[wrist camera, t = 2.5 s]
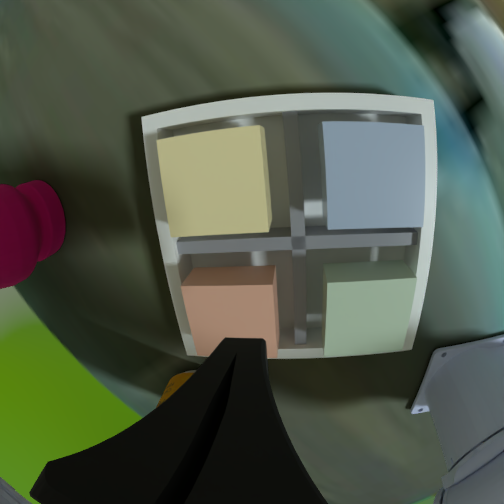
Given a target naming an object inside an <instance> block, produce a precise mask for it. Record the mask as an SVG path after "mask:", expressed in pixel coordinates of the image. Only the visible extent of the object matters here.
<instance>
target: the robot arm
mask: <svg viewBox="0 0 504 504" xmlns="http://www.w3.org/2000/svg"><path fill="white" fill-rule="evenodd" d="M426 411H430V414H431V417H432V419H433V422H434V425H435V428H436V431H437V435H438V438H439V441H440V444H441V448H442V451H443V454H444V458H445V461H446V465H447V469H448V473H447V474H446V475H444V476H443V477H442V478H441V480H442V484H443V487H442V488H441V489H439V491H438V492H437V494H436V496H435V500H434V503H433V504H504V334H503V335H499V336H495V337H491V338H487V339H483V340H478V341H474V342H469V343H464V344H460V345H454V346H449V347H444V348H438V349H436V350H435V351H434V352H433V354H432V357H431V359H430V362H429V365H428V368H427V371H426V373H425V376H424V379H423V381H422V384H421V386H420V389H419V391H418V393H417V396H416V398H415V400H414V403H413V405H412V407H411V413H412V414H416V413H421V412H426ZM30 496H31V497H32V498H34V499H35V500H36V501H38V502H39V503H41V504H328V503H327V502H326V500H325V499H324V497H323V496H322V494H321V493H320V491H319V490H318V488H317V487H316V485H315V484H314V482H313V481H312V479H311V478H310V476H309V474H308V472H307V471H306V469H305V467H304V465H303V464H302V462H301V460H300V458H299V456H298V455H297V453H296V451H295V449H294V447H293V445H292V443H291V440H290V438H289V436H288V434H287V432H286V429H285V427H284V425H283V422H282V420H281V417H280V414H279V412H278V409H277V406H276V403H275V400H274V397H273V393H272V390H271V386H270V382H269V375H268V361H267V346H266V341H265V340H264V339H263V338H228V337H225V338H224V339H223V340H222V341H221V342H220V343H219V345H218V346H217V347H216V348H215V350H214V351H213V352H212V353H211V354H210V356H209V357H208V358H207V359H206V360H205V361H204V362H203V364H202V365H201V366H200V367H199V368H198V369H197V370H196V371H195V372H194V373H193V374H192V375H191V377H190V378H189V379H188V380H187V381H186V382H185V383H184V384H183V385H182V386H181V387H179V388H178V389H177V390H176V391H175V392H174V393H173V394H172V395H171V396H170V397H169V398H168V399H167V400H165V401H164V402H163V403H162V404H161V405H159V406H158V407H157V408H156V409H154V410H153V411H152V412H150V413H149V414H148V415H146V416H145V417H144V418H142V419H141V420H139V421H138V422H136V423H135V424H133V425H132V426H130V427H129V428H127V429H125V430H124V431H122V432H120V433H119V434H117V435H115V436H113V437H111V438H109V439H107V440H105V441H103V442H101V443H99V444H97V445H95V446H93V447H90V448H88V449H86V450H83V451H81V452H78V453H75V454H72V455H69V456H66V457H63V458H59V459H56V460H53V461H49V462H48V463H47V464H46V466H45V467H44V469H43V471H42V472H41V474H40V476H39V477H38V479H37V481H36V482H35V484H34V486H33V488H32V489H31V491H30ZM0 504H32V503H30V502H29V501H28V500H26V499H25V498H24V497H23V496H21V495H20V494H19V493H17V492H16V491H15V489H14V488H13V487H12V486H10V485H9V484H8V483H7V482H6V481H4V480H3V479H2V478H1V477H0Z"/></svg>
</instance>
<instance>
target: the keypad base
mask: <svg viewBox="0 0 504 504" xmlns="http://www.w3.org/2000/svg"><path fill="white" fill-rule="evenodd" d="M141 118H142V129H143V138H144V147H145V155H146V163H147V170H148V178H149V184H150V191H151V197H152V203H153V209H154V215H155V221H156V226H157V232H158V237H159V242H160V247H161V252H162V257H163V262H164V266H165V271H166V275H167V280H168V284H169V288H170V293H171V297H172V301H173V305H174V309H175V313H176V317H177V321H178V324H179V328H180V332H181V335H182V339H183V343H184V346H185V350H186V353H187V355H189V356H197V352H196V348H195V345H194V341H193V337H192V333H191V329H190V325H189V321H188V317H187V312H186V308H185V304H184V300H183V295H182V291H181V285H182V283H183V282H184V280H185V279H186V278H187V276H188V275H189V274H190V272H191V271H192V270H193V268H197V267H235V266H267V265H276V281H277V297H278V314H279V332H280V335H279V346H278V356H277V358H267V359H299V358H326V357H324V354H323V344H322V334H321V330H322V302H323V263H346V262H368V261H390V260H403V261H404V262H405V263H406V264H407V266H408V267H409V268H410V269H411V271H412V272H413V273H414V274H415V276H416V277H417V282H416V288H415V294H414V299H413V305H412V310H411V315H410V319H409V324H408V328H407V333H406V337H405V341H404V345H403V349H402V350H401V351H405V350H412V347H413V343H414V339H415V336H416V332H417V328H418V324H419V319H420V315H421V311H422V306H423V301H424V296H425V291H426V285H427V280H428V274H429V267H430V261H431V253H432V245H433V236H434V226H435V213H436V195H437V140H436V123H435V111H434V101H433V100H429V99H422V98H414V97H405V96H395V95H383V94H366V93H298V94H280V95H268V96H257V97H247V98H239V99H231V100H224V101H217V102H211V103H205V104H199V105H193V106H188V107H183V108H178V109H173V110H169V111H164V112H160V113H156V114H151V115H147V116H143V117H141ZM328 121H352V122H383V123H400V124H412V125H423V126H424V136H425V206H424V222H423V227H405V228H366V229H335V230H328V229H327V227H326V224H325V222H324V219H323V216H322V188H321V168H320V152H319V138H318V126H317V125H318V124H320V123H321V122H328ZM255 125H260V126H262V127H264V128H265V139H266V150H267V161H268V173H269V185H270V197H271V210H272V222H271V225H270V229H269V232H262V233H241V234H222V235H204V236H187V237H171V236H170V230H169V224H168V219H167V213H166V206H165V200H164V194H163V187H162V180H161V173H160V165H159V157H158V149H157V140H159V139H164V138H170V137H175V136H181V135H186V134H192V133H199V132H205V131H212V130H219V129H227V128H235V127H245V126H255ZM392 352H397V351H392ZM383 353H389V352H383ZM373 354H379V353H373ZM362 355H369V354H362ZM349 356H357V355H349ZM203 357H209V356H203ZM334 357H344V356H334Z"/></svg>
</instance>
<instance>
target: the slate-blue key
mask: <svg viewBox="0 0 504 504" xmlns="http://www.w3.org/2000/svg"><path fill="white" fill-rule="evenodd" d="M317 126H318V138H319V152H320V168H321V188H322V216H323V219H324V222H325V224H326V227H327V229H328V230H335V229H366V228H405V227H423V222H424V206H425V136H424V126H423V125H412V124H400V123H383V122H352V121H328V122H321V123H320V124H318V125H317Z"/></svg>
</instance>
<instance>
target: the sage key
mask: <svg viewBox="0 0 504 504" xmlns="http://www.w3.org/2000/svg"><path fill="white" fill-rule="evenodd" d="M416 282H417V277H416V276H415V274H414V273H413V272H412V271H411V269H410V268H409V267H408V266H407V264H406V263H405V262H404V261H403V260H390V261H368V262H346V263H323V302H322V330H321V334H322V344H323V354H324V357H334V356H349V355H362V354H373V353H383V352H392V351H401V350H402V349H403V345H404V341H405V337H406V333H407V328H408V324H409V319H410V315H411V310H412V305H413V299H414V294H415V288H416Z"/></svg>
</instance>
